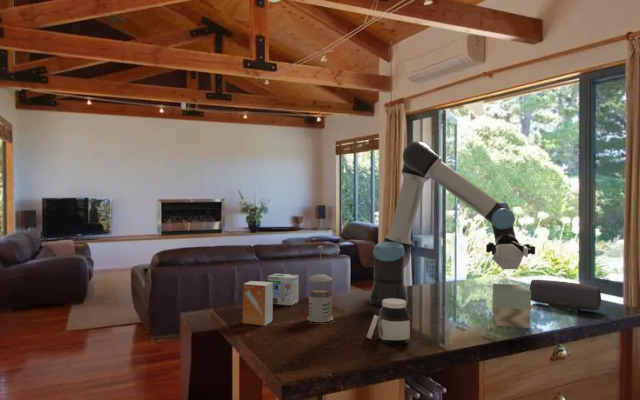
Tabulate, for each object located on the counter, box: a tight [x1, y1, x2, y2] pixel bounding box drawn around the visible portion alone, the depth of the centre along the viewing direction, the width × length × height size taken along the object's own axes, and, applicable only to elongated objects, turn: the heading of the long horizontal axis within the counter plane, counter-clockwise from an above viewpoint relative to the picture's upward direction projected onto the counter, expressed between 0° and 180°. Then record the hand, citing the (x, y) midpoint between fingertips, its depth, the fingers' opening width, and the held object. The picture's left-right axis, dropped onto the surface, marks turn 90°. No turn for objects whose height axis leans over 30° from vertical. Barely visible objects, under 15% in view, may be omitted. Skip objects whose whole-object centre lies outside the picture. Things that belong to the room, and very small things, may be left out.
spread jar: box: [366, 298, 411, 346], centre depth 133 cm, size 12×11×12 cm
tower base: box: [492, 301, 531, 329], centre depth 153 cm, size 10×10×6 cm
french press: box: [306, 245, 334, 322], centre depth 156 cm, size 10×12×25 cm
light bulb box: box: [267, 273, 300, 306], centre depth 179 cm, size 11×7×11 cm, turn 68°
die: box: [491, 244, 525, 270], centre depth 152 cm, size 8×9×10 cm
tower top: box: [492, 283, 532, 311], centre depth 152 cm, size 10×10×6 cm
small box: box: [242, 280, 274, 327], centre depth 151 cm, size 8×6×13 cm
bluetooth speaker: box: [529, 279, 602, 311], centre depth 173 cm, size 23×9×10 cm, turn 49°
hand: (511, 252), depth 148 cm, fingers closed on die, 8 cm apart
